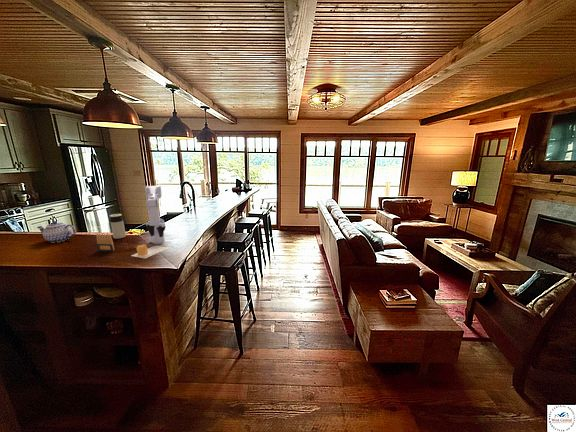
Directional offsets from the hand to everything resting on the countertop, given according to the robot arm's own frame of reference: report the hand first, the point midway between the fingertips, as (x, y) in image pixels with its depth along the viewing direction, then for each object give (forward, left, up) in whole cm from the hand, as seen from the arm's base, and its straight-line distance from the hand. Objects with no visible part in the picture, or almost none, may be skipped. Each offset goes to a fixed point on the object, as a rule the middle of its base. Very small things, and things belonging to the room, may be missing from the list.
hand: (156, 236), depth 153 cm
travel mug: (-49, +9, -10) cm, 50 cm away
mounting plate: (+1, -7, -9) cm, 12 cm away
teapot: (-84, -11, -10) cm, 85 cm away
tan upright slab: (-31, -13, -10) cm, 35 cm away
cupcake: (-1, -11, -8) cm, 14 cm away
